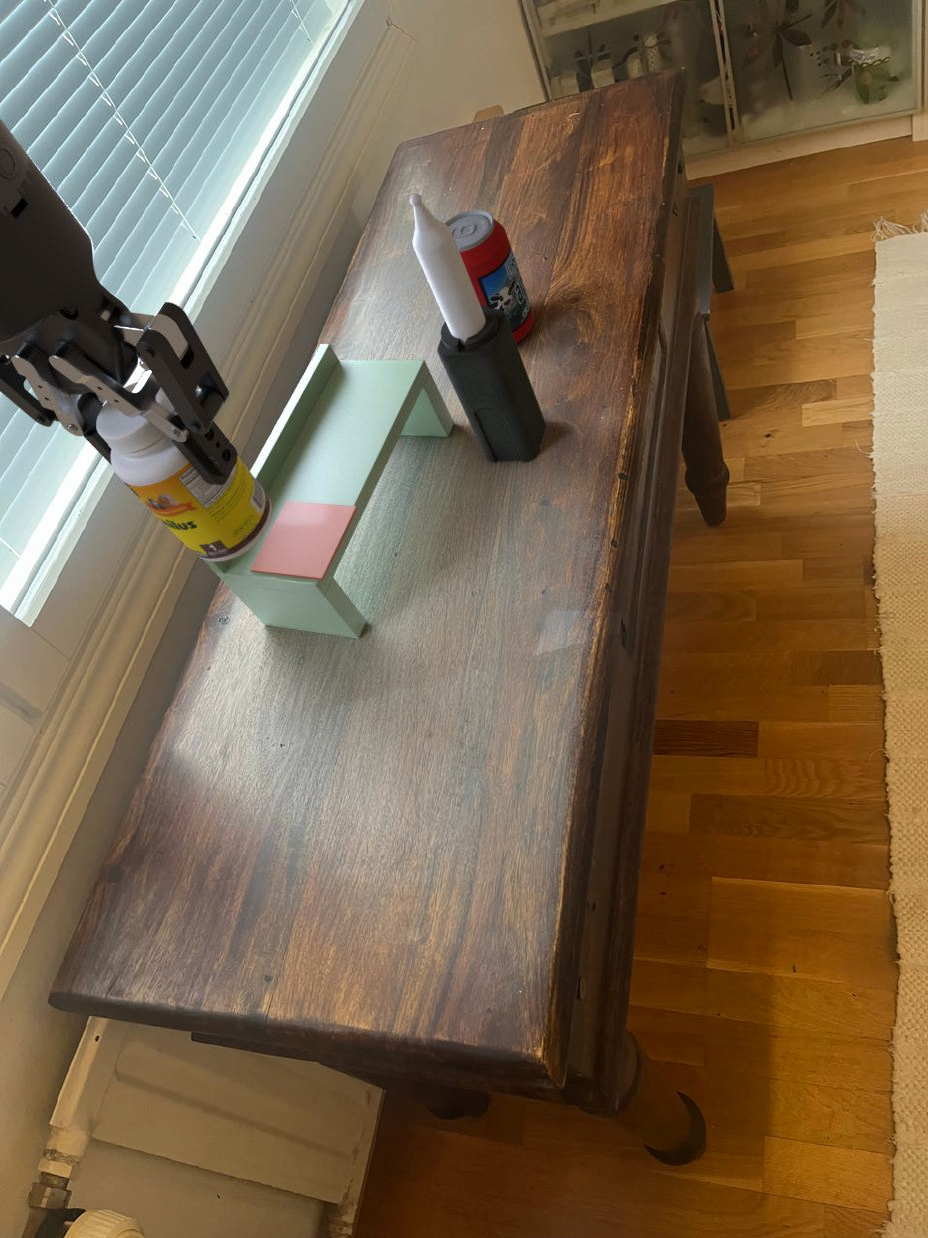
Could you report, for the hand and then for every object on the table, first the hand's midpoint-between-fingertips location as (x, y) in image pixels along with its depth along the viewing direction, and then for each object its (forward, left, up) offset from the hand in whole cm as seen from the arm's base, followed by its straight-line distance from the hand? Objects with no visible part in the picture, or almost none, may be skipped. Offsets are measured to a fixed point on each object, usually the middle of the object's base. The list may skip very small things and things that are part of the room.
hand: (181, 468), depth 51 cm
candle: (+27, -2, -28) cm, 39 cm away
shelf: (+17, +10, -28) cm, 35 cm away
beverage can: (+41, +4, -28) cm, 50 cm away
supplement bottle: (0, 0, -6) cm, 6 cm away
